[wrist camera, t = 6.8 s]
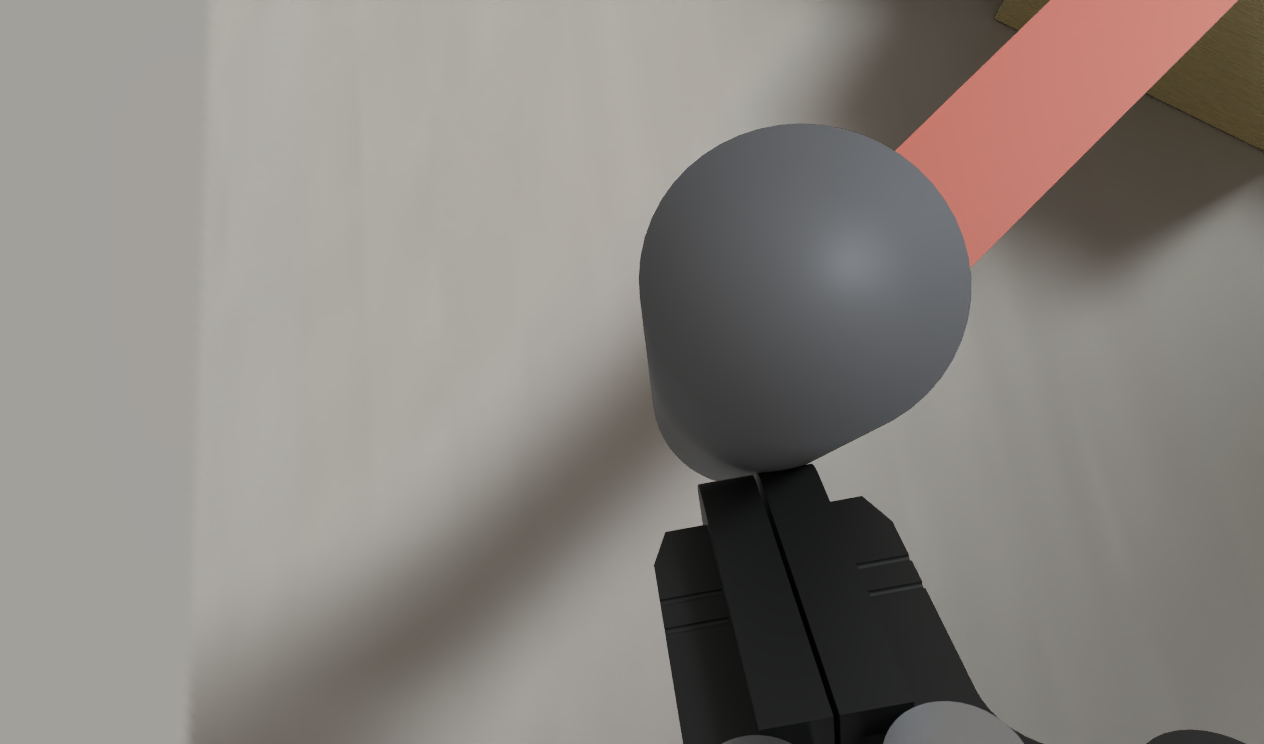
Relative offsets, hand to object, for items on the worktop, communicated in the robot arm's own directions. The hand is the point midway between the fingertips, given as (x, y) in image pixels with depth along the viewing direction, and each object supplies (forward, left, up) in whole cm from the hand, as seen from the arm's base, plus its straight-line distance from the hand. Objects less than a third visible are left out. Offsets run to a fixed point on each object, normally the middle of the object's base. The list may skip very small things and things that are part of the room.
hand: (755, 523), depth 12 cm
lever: (-11, +2, -3) cm, 11 cm away
